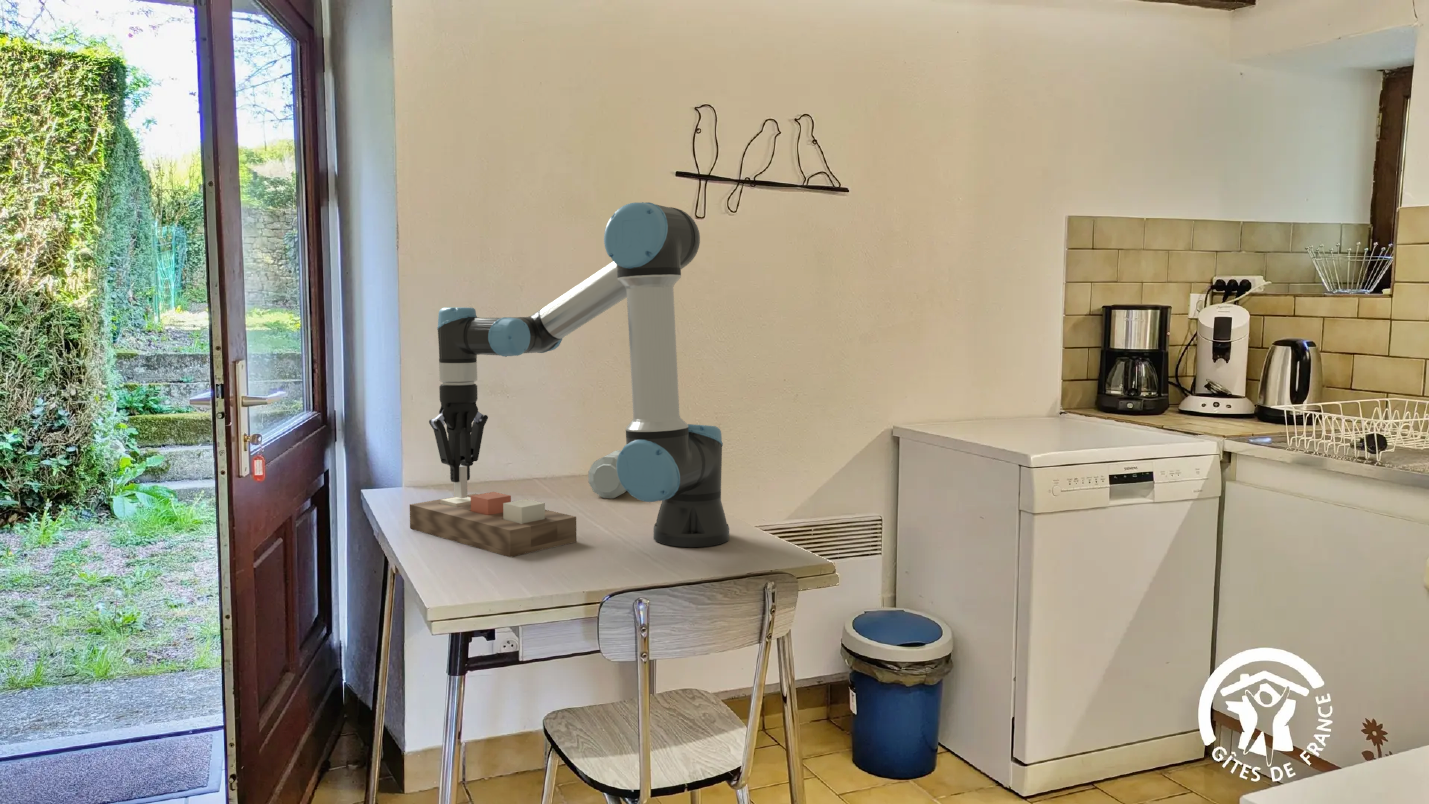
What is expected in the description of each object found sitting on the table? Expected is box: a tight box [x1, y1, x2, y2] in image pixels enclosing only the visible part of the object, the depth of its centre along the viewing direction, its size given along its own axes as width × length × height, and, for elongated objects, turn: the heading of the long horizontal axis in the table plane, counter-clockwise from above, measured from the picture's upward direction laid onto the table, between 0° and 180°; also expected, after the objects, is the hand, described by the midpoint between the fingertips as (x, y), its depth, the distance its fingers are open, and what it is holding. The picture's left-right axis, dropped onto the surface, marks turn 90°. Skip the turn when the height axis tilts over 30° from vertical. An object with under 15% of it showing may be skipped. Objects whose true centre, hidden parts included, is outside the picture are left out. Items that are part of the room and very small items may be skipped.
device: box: [588, 449, 628, 499], centre depth 250 cm, size 31×10×10 cm, turn 168°
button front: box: [503, 498, 546, 524], centre depth 192 cm, size 6×6×4 cm
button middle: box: [471, 491, 512, 515], centre depth 199 cm, size 6×6×4 cm
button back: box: [440, 496, 471, 507], centre depth 206 cm, size 6×6×4 cm
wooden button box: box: [409, 493, 577, 558], centre depth 199 cm, size 33×16×5 cm, turn 49°
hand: (460, 496), depth 206 cm, fingers closed
